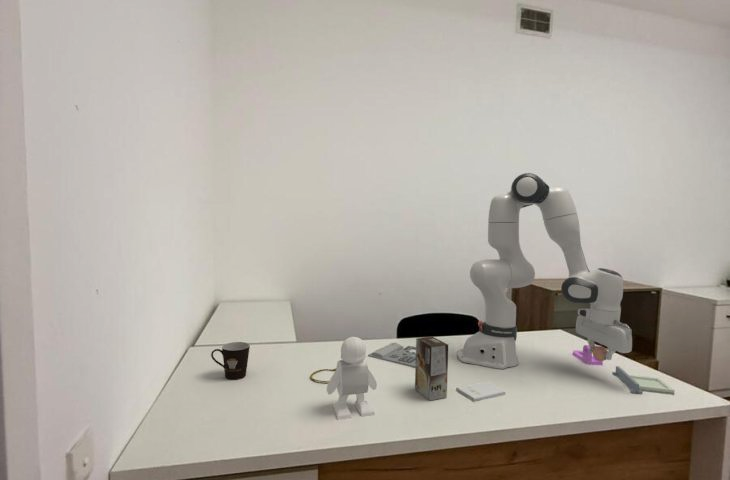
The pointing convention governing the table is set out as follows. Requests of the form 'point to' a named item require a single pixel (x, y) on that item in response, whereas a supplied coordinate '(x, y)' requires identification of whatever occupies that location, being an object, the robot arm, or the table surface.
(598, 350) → the ball
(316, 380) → the brown hoop
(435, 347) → the coffee box
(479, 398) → the external hard drive
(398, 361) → the office telephone
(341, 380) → the toy robot
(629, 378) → the divider
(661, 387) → the tray
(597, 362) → the bracket
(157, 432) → the table surface
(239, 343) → the coffee mug
